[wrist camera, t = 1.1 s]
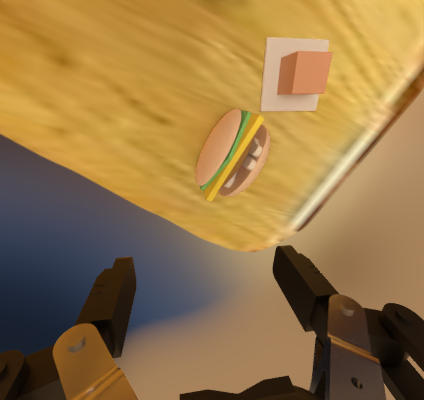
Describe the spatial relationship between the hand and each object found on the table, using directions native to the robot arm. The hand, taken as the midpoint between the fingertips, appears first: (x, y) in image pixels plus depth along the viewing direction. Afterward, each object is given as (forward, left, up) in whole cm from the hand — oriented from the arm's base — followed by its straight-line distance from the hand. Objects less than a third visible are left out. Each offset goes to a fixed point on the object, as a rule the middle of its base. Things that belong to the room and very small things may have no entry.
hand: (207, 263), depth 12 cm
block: (-12, +18, -27) cm, 34 cm away
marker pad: (-12, +18, -28) cm, 35 cm away
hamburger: (-1, +7, -28) cm, 29 cm away
